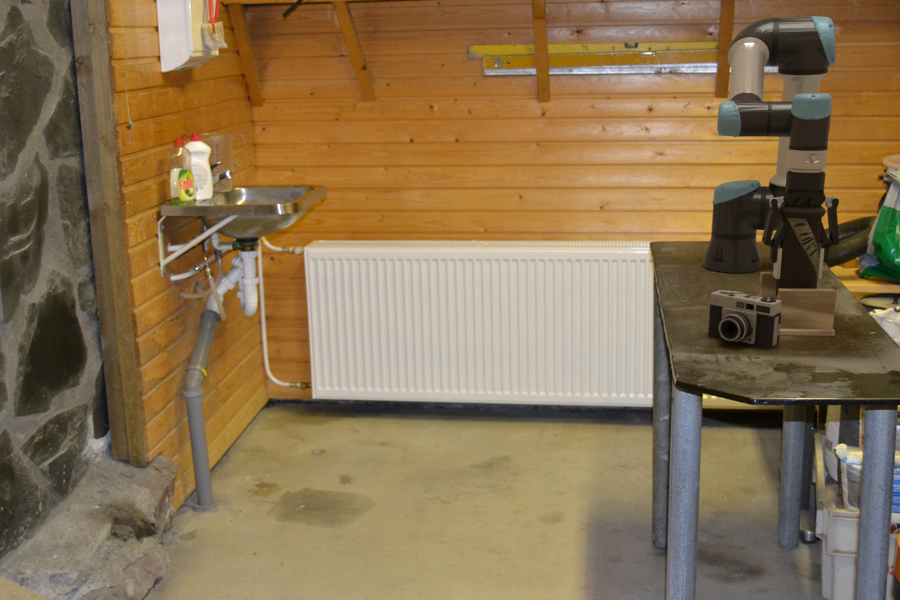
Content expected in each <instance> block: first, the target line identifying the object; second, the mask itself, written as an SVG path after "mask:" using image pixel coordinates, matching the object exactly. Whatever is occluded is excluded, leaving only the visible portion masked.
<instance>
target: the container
mask: <svg viewBox="0 0 900 600" xmlns="http://www.w3.org/2000/svg"><path fill="white" fill-rule="evenodd" d="M826 211H827V209H826V208H825V207H824V206H822V205H821V206H820V207H818V206H817V207H811V206H810V205H802V206H801V207H793V206H792V207H787V206H786V205H783V206H782V207H781V208H780V213H781V215H782V223H785V231H784V237H783V239H782V241H781V243H780V245H779V247H781V248H782V259H781V271H780V279H777V282H776V296H778V289H818V279H817V277H818V264H819V250H820V246H821V244H820V235H821V222H822V221H823V218H824V216H825V215H826V213H827V212H826ZM822 223H823V222H822Z"/></svg>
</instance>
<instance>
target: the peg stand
mask: <svg viewBox="0 0 900 600" xmlns="http://www.w3.org/2000/svg"><path fill="white" fill-rule="evenodd" d="M776 282H777V279H776V278H775V277H774V276H773V271H760V273H759V284H758V285H759V287H758V296H760V297H767V298H774V299H776V300H781V322H780V324H781V327H780V335H779V336H807V337H808V336H811V337H812V336H819V337H820V336H822V337H823V336H826V337H827V336H828V337H829V336H831V337H833V336H836V330H835V329H834V322H835V321H834V320H835V309H836V301H837V300H836V299H837V291H836V290H835V289H834V288H817V289H778V296H776Z"/></svg>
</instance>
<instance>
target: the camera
mask: <svg viewBox="0 0 900 600" xmlns="http://www.w3.org/2000/svg"><path fill="white" fill-rule="evenodd" d="M780 322H781V300H776V299H774V298H767V297H760V296H759V295H755V296H753V295H752V294H751V293H749V294H746V293H743V292H742V291H736V290H735V291H734V290H733V291H732V290H725V289H718V290H715V291H713V292H710V303H709V319H708V331H707V333H708V334H707V337H709V338H712V339H718V340H722V341H726V342H731V343H734V344H740V345H744V346H750V347H752V348H753V347H754V348H757V347H758V348H759V349H762V348H763V350H766V349H767V351H770V350H773V349H775V348H777V347H778V346H779V343H780V336H781V335H780V327H781V324H780Z"/></svg>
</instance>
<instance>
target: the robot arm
mask: <svg viewBox="0 0 900 600" xmlns="http://www.w3.org/2000/svg"><path fill="white" fill-rule="evenodd" d="M836 46H837V45H836V32H835V24H834V21H833V20H832V18H830V17H828V16H817V15H814V16H813V15H812V16H810V15H809V16H808V15H807V16H806V15H805V16H793V17H792V16H788V17H766V18H761V19H758V20H756V21H753V22H752V23H749V25H747V26H745V27H744V28H743V29H741V30H740V31H739V32H738V33H737V34H736V35H735V37H734V38H733V39H732V41H731V42H730V44H729V47H728V51H727V61H728V65H729V67H730V68H731V69H730V77H729V78H730V79H729V89H728V100H727V101H722V102H720V104H718V108H717V109H718V110H717V124H716V125H717V126H716V127H717V129H716V130H717V134H718V135H719V136H721V137H722V136H723V137H733V138H738V137H739V138H741V137H745V138H746V137H753V138H754V137H760V138H761V137H766V138H767V137H770V138H771V137H772V138H773V137H774V138H775V137H776V138H778V143H777V144H778V145H777V156H776V158H777V159H776V169H775V174H774V175H772V177H770V178H769V180H768V182H769V183H768V185H767V186H764V185H762V184H761V181H760V180H758V179H744V180H743V179H741V180H735V181H727V182H723V183H720V184H718V185H717V186H716V187H715V188H714V191H713V198H712V199H713V200H712V202H711V203H712V220H711V234H710V235H711V237H710V240H709V243H708V245H707V248H706V249H705V250H706V251H705V253H704V256H703V257H702V267H703V266H704V267H703V268H705V269H707V268H708V269H707V270H710V269H711V270H710V271H713V270H714V272H720V273H727V274H728V273H729V274H730V273H731V274H732V273H733V274H742V273H745V274H746V273H753V271H754V272H759V271H760V270H761V269H762V258H761V254H760V251H759V246H758V242H757V233H758V231H763V234H762V238H761V243H762V244H764V245H765V246H768V247H769V248H770V249H769V262H771V264H772V263H773V270H772V272H773V276H774V277H775V278H776V279H780V271H781V259H782V248H781V247H780V243H781V241H782V239H783V237H784V231H785V223H782V215H781V213H780V208H781V207H782V206H783V205H786V206H787V207H792V206H793V207H801V206H802V205H810V206H811V207H817V206H818V207H820V206H822V205H823V204H824V203H825V204H824V205H825V207H826V211H827V212H826V213H827V225H828V234H827V232H826V229H825V227H824V224H823V222H821V235H820V250H819V264H818V277H817V280H821V279H822V276H823V266H824V264H826V263H828V261H829V254H830V253H829V252H830V249H831V248H832V247H833V246H838V245H839V244H840V235H839V234H840V233H839V221H838V207H839V204H840V200H839V198H837V197H835V196H831V197H829V196H826V194H825V185H826V184H825V183H826V172H825V171H824V170H825V169H826V168H827V159H828V144H829V137H830V136H829V135H830V128H831V116H832V112H833V109H832V108H833V107H832V101H833V97H832V96H831V95H830V94H829V93H824V92H822V93H821V92H820V87H821V80H822V79H823V78H825V77H826V75H828V71H829V67H832V66H835V64H836V54H837V53H836V51H837V50H836ZM765 67H777V75H778V76H779V77H780V78H781V79H782V82H783V85H782V96H781V97H782V99H781V101H778V100H777V101H774V100H773V101H771V100H768V101H766V100H764V95H765V94H764V93H765V92H764V90H765V89H764V88H765V87H764V86H765ZM774 231H775V232H774ZM828 237H829V238H828Z"/></svg>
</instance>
